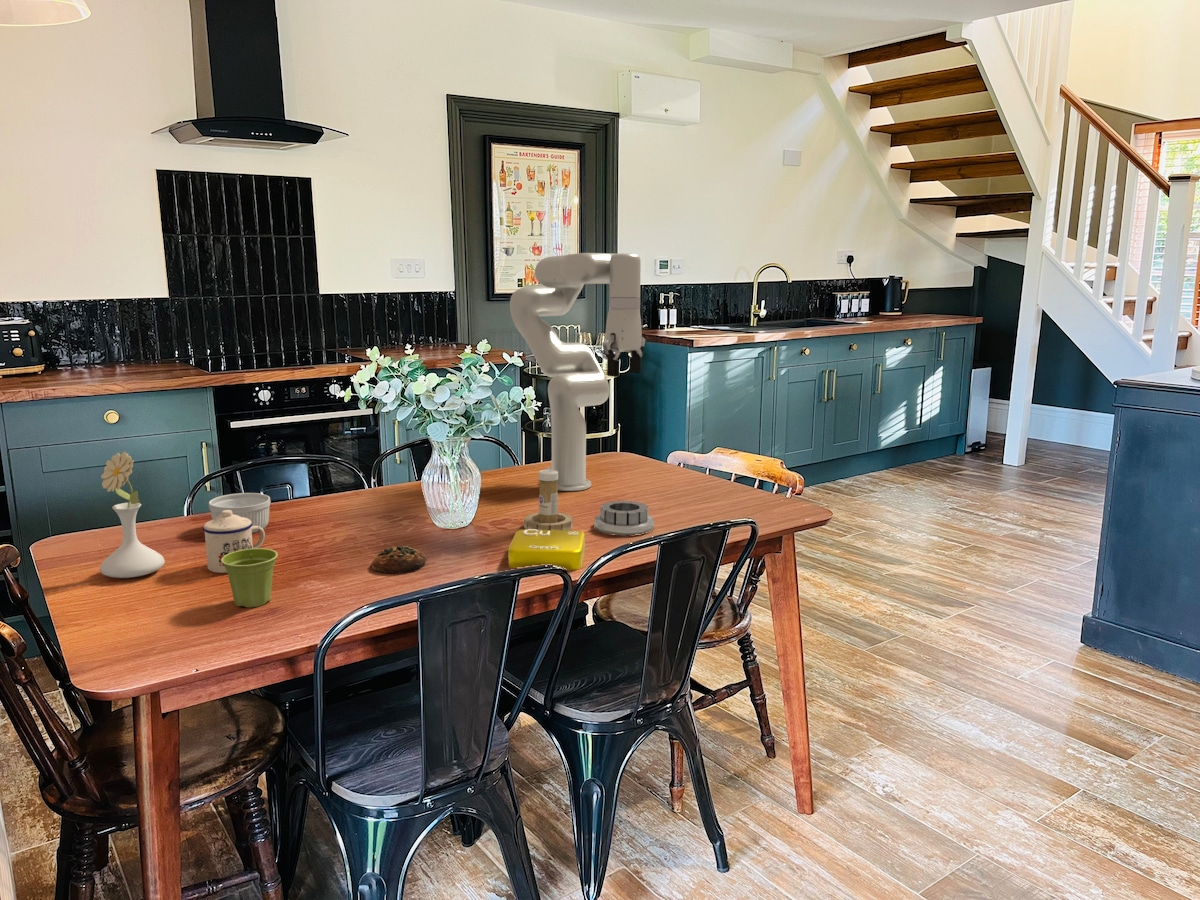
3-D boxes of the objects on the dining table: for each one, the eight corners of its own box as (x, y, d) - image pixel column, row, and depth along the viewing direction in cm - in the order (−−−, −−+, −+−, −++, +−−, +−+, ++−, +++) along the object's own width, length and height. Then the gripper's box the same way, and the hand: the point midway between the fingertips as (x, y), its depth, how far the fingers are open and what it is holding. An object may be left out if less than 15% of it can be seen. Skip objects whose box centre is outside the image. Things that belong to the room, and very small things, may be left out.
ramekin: (282, 528, 204) (280, 499, 203) (226, 541, 195) (224, 510, 194) (255, 517, 213) (253, 489, 212) (201, 528, 204) (198, 499, 202)
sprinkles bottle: (534, 526, 208) (534, 471, 205) (548, 522, 211) (548, 467, 208) (548, 530, 205) (548, 474, 202) (562, 526, 208) (562, 470, 205)
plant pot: (287, 604, 159) (284, 558, 157) (232, 616, 153) (228, 568, 152) (272, 589, 166) (269, 545, 164) (219, 599, 161) (215, 554, 159)
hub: (582, 528, 207) (582, 507, 206) (618, 515, 217) (618, 496, 216) (630, 540, 198) (630, 518, 197) (665, 526, 209) (666, 506, 208)
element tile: (507, 570, 179) (506, 548, 178) (517, 547, 194) (516, 526, 193) (580, 572, 178) (580, 549, 177) (585, 549, 193) (585, 528, 192)
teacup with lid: (219, 577, 172) (214, 519, 170) (198, 566, 178) (193, 511, 176) (276, 562, 181) (273, 507, 179) (255, 553, 187) (251, 499, 184)
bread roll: (402, 577, 173) (399, 552, 172) (360, 575, 178) (357, 551, 178) (438, 564, 182) (436, 540, 182) (398, 562, 188) (395, 539, 187)
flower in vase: (96, 571, 175) (82, 447, 170) (158, 560, 182) (147, 441, 177) (107, 590, 165) (93, 459, 160) (173, 577, 172) (161, 452, 166)
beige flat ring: (514, 527, 207) (514, 519, 207) (546, 517, 216) (546, 509, 215) (550, 536, 200) (550, 528, 200) (582, 525, 209) (582, 517, 208)
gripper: (631, 303, 226) (631, 370, 229) (591, 305, 212) (591, 376, 215) (656, 304, 222) (655, 372, 225) (617, 306, 208) (617, 378, 211)
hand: (624, 374), depth 220 cm, fingers open, 9 cm apart
